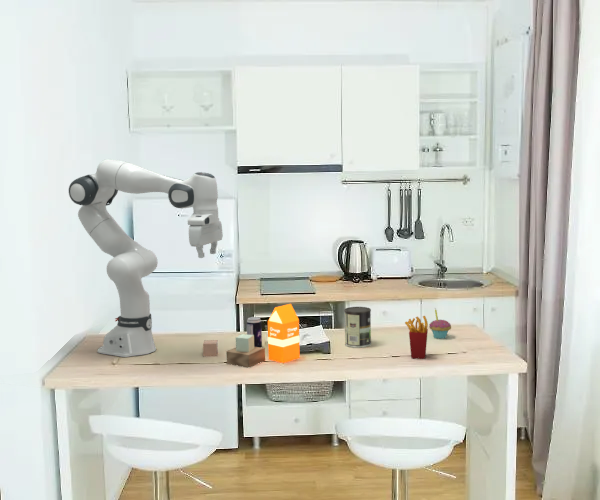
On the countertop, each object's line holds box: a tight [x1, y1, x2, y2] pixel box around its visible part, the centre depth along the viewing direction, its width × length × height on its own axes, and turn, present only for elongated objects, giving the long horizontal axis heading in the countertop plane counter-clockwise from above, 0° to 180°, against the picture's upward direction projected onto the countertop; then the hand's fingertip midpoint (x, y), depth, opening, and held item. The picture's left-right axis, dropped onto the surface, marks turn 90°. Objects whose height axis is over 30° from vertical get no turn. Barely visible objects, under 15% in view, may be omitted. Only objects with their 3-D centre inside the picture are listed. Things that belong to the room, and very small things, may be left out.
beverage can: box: [246, 316, 263, 348], centre depth 295 cm, size 6×6×12 cm
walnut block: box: [225, 347, 266, 368], centre depth 278 cm, size 10×10×5 cm
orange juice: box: [267, 303, 301, 364], centre depth 280 cm, size 8×9×20 cm
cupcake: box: [428, 308, 452, 340], centre depth 306 cm, size 9×8×12 cm
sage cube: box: [235, 333, 254, 352], centre depth 277 cm, size 5×5×5 cm
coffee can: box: [344, 306, 372, 349], centre depth 298 cm, size 10×10×14 cm
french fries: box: [404, 315, 429, 360], centre depth 280 cm, size 9×8×15 cm
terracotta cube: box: [202, 339, 219, 358], centre depth 289 cm, size 5×5×5 cm
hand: (207, 255), depth 277 cm, fingers open, 8 cm apart
